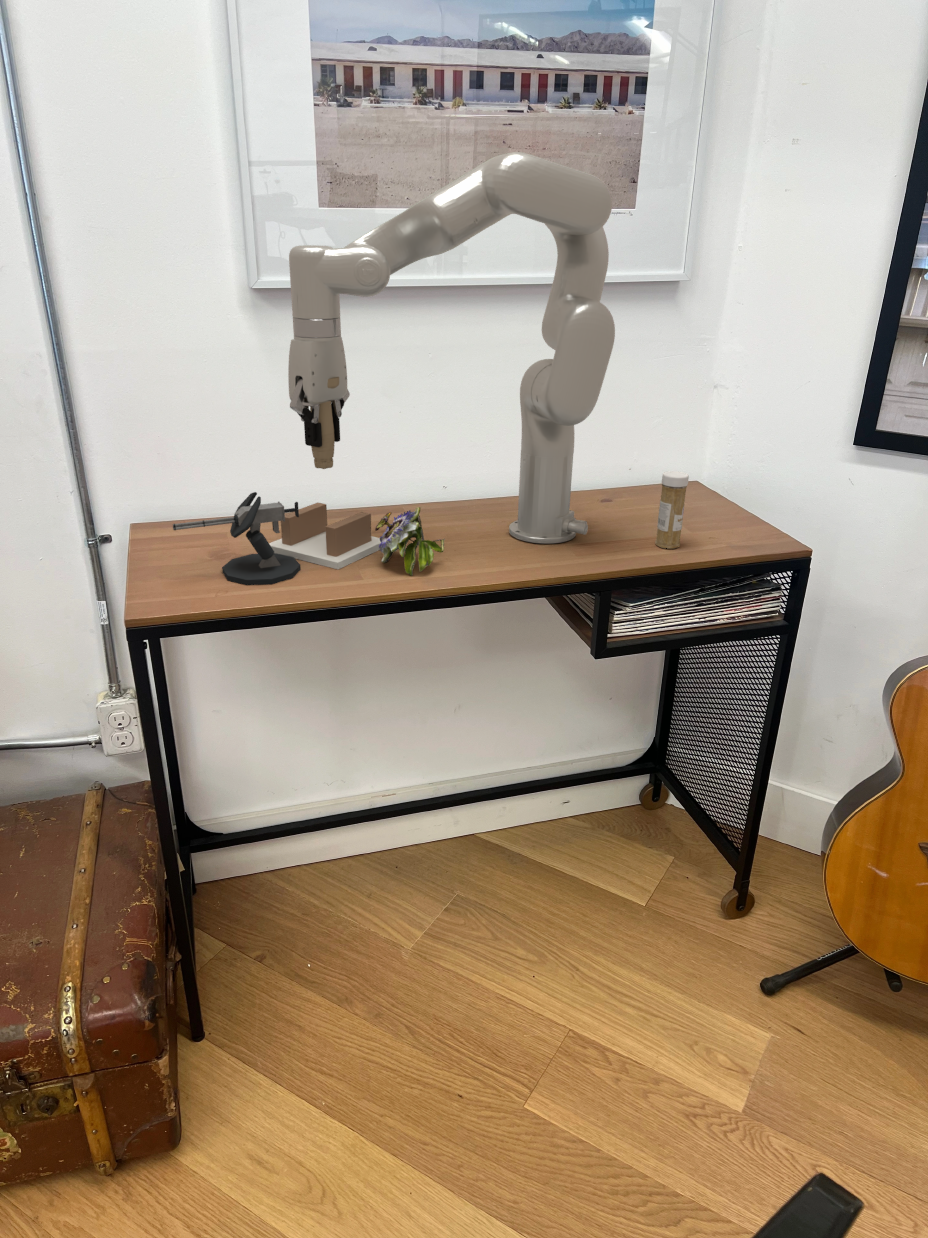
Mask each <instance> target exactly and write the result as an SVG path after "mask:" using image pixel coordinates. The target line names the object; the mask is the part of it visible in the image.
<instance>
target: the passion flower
mask: <svg viewBox="0 0 928 1238" xmlns="http://www.w3.org/2000/svg"><path fill="white" fill-rule="evenodd" d="M420 513H421V506H419V507H418V506H417V507H416V508H415V510H414V511H411V509H410V510H407V511H404V512H403V513H400V515H399V514H398V515H397V516H396V517H395V516H394V517H393V518H394V519H393V521H392V523H389V520H390V516H391V515H392V511H389V512H387V513H386V514H384V516H383V517H381V518H380V521H379V522H378V523H377V525H376V526H375V529H374V531H379V530H380V528H383V527H384V526H386V528H385V531H384V532H383V533H382V536H380V537H379V538H380V541H381V544H380V545H379V548H380V550H379V551H380V553H382V554H383V557H382V559H381V560H380V562H381V563H382V564H386V563H388V562H389V561H390V559H391V558H392V557H393V554H394V553H395V552H397V551H398V550H399V555H400V557H402V558H403V562H404V563H403V564H404V572H405V574H407V575H409V576H410V577H412V576H413V571H414V568H415V564H416V558H418V559H417V562H418V570H419V572H420V573H421V572H422V571H423V570H425V569H426V567H430V566H431V564H432V563H433V561H434V557H435V556H434V555H435V554H434V552H433V551H435V552H437V553H440V554H441V553H444V551H445V541H446V538H439V539H436V540H429V539H425V535H424V530H423V527H422V526H423V525H422V520H421V515H420ZM414 538H415V539H414ZM413 539H414V540H413ZM409 541H411V542H410V543H408V542H409ZM437 542H440V545H439V544H438V543H437ZM407 544H408V545H407ZM417 548H418V557H416V556H417V555H416V553H417V551H416V550H417Z"/></svg>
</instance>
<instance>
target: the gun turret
mask: <svg viewBox="0 0 928 1238" xmlns="http://www.w3.org/2000/svg"><path fill="white" fill-rule="evenodd" d="M257 495H258V493H257V492H256V491H254V492H251V493H250V494H248V496H247V497H245V499H243V501H242V502H241V503H240V504H239V506H238V507H237V508H236V510H235V512H234V513H233V514H234V515H233V516H231V517H230V516H229V517H228V516H227V517H221V518H213V519H203V520H197V521H187V522H180V523H173V524H172V530H173V531H178V530H179V531H180V530H186V529H195V528H202V527H203V528H205V527H210V526H211V527H213V526H219V525H220V526H221V525H227V524H229V525H230V524H231V525H230V530H229V532H230V535H231V537H233V539H235V538H236V539H237V538H238V537H239V536H241V535H243V533H245V532H246V533H245V537H246V538H247V540H248V541H249V543H250V544H251V546H252V547H253V548H254V549H253V550H254V551H255V552H256V553H250V554H246V555H242V556H239V557H235V558H231V559H230V560H229V561H228V562H227V563H225V564H224V565H223V566H222V568H221V571H222V574H223V576H224V577H225V579H226V581H228V582H232V583H235V584H241V585H244V586H267V585H268V586H269V585H271V586H272V585H275V584H278V583H281V582H285V581H288V580H291V579H294V578H295V576H296V575H298V573H300V571H301V570H302V569H301V564H300V562H299V561H297V560H298V559H295V558H294V557H291V556H286V555H282V554H277V553H274V550H273V549H272V547H271V546H270V544H269V543H270V542H269V541H268V540H267V538H266V536H265V535H264V534H263V533H262V532H261V524H264V523H272V531H273V532H274V533H275V534H280V533H281V532H280V531H281V530H280V524H279V523H280V522H281V521H282V520H283V521H284V522H285V514H288V513H291V512H295V516H297V517H299V511H298V510H299V502H298V501H295V502H294V507H293V508H285V506H284V505H283V503H281V502H280V501H277V502H270V503H263V504H261V503H262V497H261V496H257ZM256 497H257V498H256ZM255 498H256V499H255ZM254 500H255V501H254ZM279 521H280V522H279Z"/></svg>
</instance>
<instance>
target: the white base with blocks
mask: <svg viewBox="0 0 928 1238" xmlns="http://www.w3.org/2000/svg"><path fill="white" fill-rule="evenodd" d="M327 510H328V509H327V503H321V502H315V503H313V504H311V505H310V504H309V505H307V506H305V507H301V508H298V511H299V517H297V516H295V512H288V513H285V522H284V521H283V520H282V521H280V531H281V532H280V533H281V538H280V539H279V538H278V539H276V540H273V541H272V542H268V543H269V544H270V546H271V547H272V549H273V550H274V553H277V554H282V555H286V556H291V557H294V558H295V559H296V560H300V561H304V562H307V563H311V564H316V565H319V566H322V567H326V568H327V567H328V568H330V569H331V568H332V569H334V570H341V569H343V568H344V567H347V566H348V565H351V564H353V563H355V562H357V561H359V560H362V559H363V558H366V557H368V556H369V555H372V554H374V553H377V552H379V551H380V548H379V545H380V544H381V541H380V537H377V536H372V513H368V512H365V511H360V512H357V513H355V514H353V515H350V516H348V517H345V518H343V519H341V520H338V521H336V522H333V523H330V524H328V511H327Z"/></svg>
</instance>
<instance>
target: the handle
mask: <svg viewBox="0 0 928 1238" xmlns="http://www.w3.org/2000/svg"><path fill="white" fill-rule="evenodd" d="M338 385H339V377H336V378H332V379H328V383H327V386H328V388H332V389H333V388H336V387H337V386H338ZM309 407H310V406H309ZM309 410H310V411H311V412H312V407H310V408H309ZM318 422H319V423H321V429H322V446H321V447H314V446H310V447H311V452H312V453H311V454H312V456H313V463H314V468H316V469H322V470H325V469H331V468H333V467H334V455H335V443H336V442H335V441H334V426H333V417H332V408H331V401H328V402H324V403H320V404H319V419H318Z"/></svg>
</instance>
